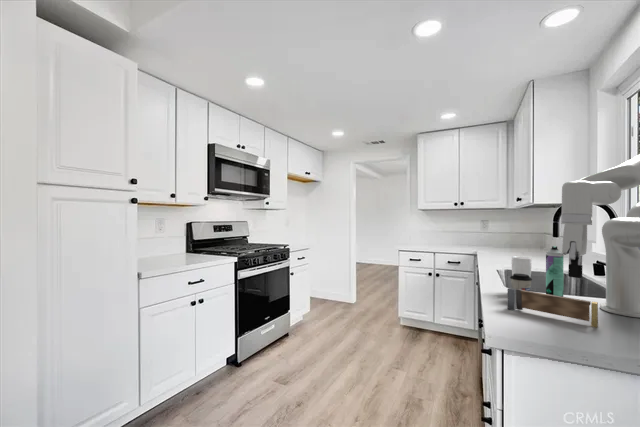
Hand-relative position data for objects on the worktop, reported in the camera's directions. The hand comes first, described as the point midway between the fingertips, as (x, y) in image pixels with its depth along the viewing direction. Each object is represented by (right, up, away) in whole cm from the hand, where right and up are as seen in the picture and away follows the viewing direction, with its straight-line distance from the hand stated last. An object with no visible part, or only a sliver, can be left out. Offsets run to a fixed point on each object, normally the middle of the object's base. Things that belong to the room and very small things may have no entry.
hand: (575, 277), depth 96 cm
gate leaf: (-8, -12, 0) cm, 15 cm away
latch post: (-1, -13, -8) cm, 15 cm away
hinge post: (-15, -13, +8) cm, 21 cm away
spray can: (+11, -13, +23) cm, 29 cm away
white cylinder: (+1, -13, +27) cm, 30 cm away
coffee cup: (-6, -13, +17) cm, 22 cm away
